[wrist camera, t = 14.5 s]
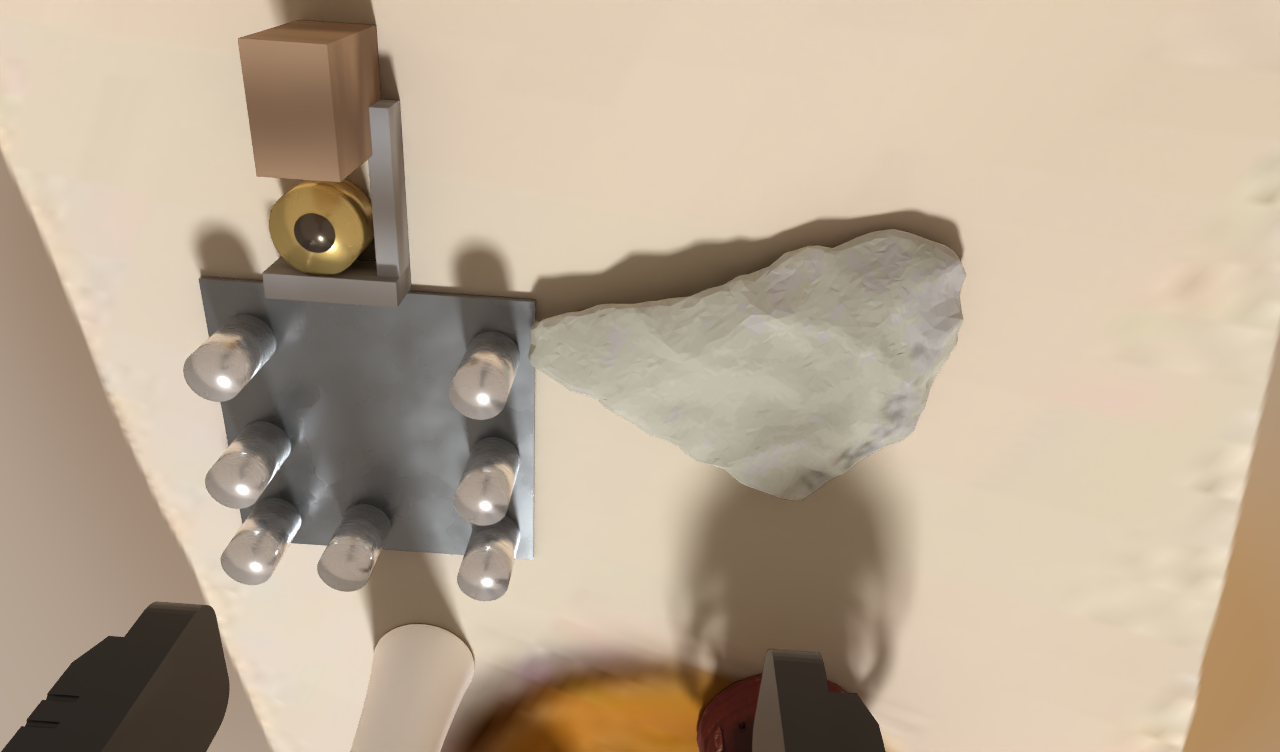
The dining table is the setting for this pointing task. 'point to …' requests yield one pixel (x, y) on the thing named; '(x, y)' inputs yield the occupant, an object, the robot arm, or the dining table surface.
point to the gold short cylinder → (322, 226)
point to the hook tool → (330, 145)
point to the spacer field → (372, 430)
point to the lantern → (734, 717)
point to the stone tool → (775, 359)
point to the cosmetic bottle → (413, 690)
